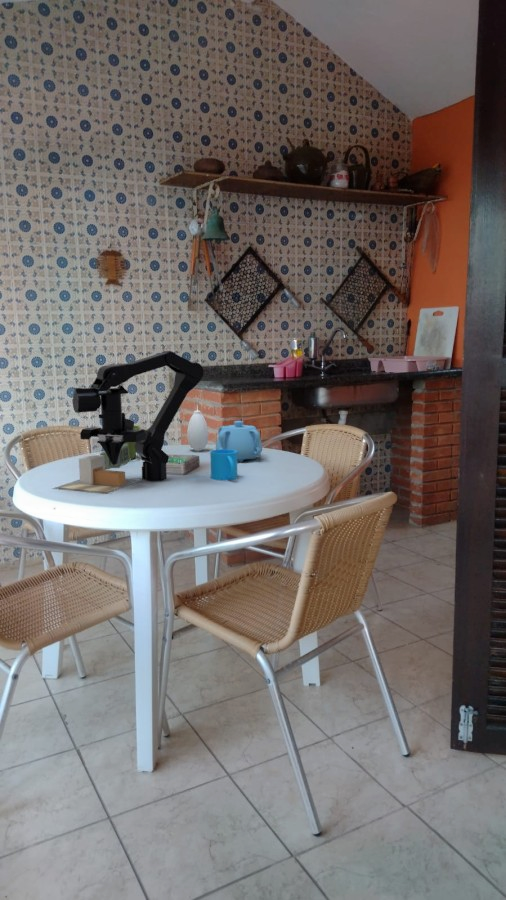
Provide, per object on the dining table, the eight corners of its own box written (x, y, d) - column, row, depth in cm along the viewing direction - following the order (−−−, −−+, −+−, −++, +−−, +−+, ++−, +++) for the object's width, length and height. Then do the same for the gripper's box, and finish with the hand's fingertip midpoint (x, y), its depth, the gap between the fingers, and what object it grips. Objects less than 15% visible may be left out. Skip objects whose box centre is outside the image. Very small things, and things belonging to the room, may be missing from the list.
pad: (119, 488, 182) (119, 487, 182) (106, 493, 176) (106, 492, 176) (72, 484, 188) (72, 482, 188) (58, 488, 182) (58, 487, 182)
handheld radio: (131, 461, 227) (102, 476, 203) (122, 462, 228) (92, 476, 204) (130, 443, 226) (100, 455, 202) (121, 443, 227) (90, 455, 203)
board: (141, 483, 192) (141, 480, 192) (106, 497, 176) (105, 493, 176) (90, 479, 199) (90, 475, 199) (52, 492, 183) (52, 488, 182)
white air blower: (200, 453, 241) (199, 405, 238) (183, 451, 245) (182, 404, 242) (212, 450, 247) (211, 403, 244) (196, 448, 252) (195, 402, 248)
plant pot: (120, 454, 240) (119, 424, 238) (147, 456, 236) (146, 425, 234) (101, 460, 229) (99, 428, 227) (129, 462, 225) (128, 430, 223)
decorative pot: (213, 463, 223) (212, 424, 220) (218, 454, 238) (217, 418, 236) (260, 463, 222) (260, 424, 219) (262, 454, 237) (262, 418, 235)
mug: (207, 476, 202) (206, 450, 201) (231, 473, 205) (231, 448, 204) (220, 484, 191) (220, 456, 190) (246, 481, 194) (245, 454, 193)
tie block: (105, 479, 193) (104, 455, 191) (91, 484, 186) (90, 459, 185) (94, 478, 194) (93, 454, 193) (80, 483, 188) (78, 458, 186)
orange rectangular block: (125, 483, 188) (125, 471, 188) (118, 486, 185) (118, 474, 184) (91, 480, 193) (90, 468, 192) (83, 482, 189) (83, 471, 189)
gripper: (154, 408, 188) (156, 461, 190) (100, 406, 195) (103, 457, 197) (133, 412, 177) (136, 468, 180) (77, 410, 184) (80, 464, 187)
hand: (114, 464), depth 186 cm, fingers closed
